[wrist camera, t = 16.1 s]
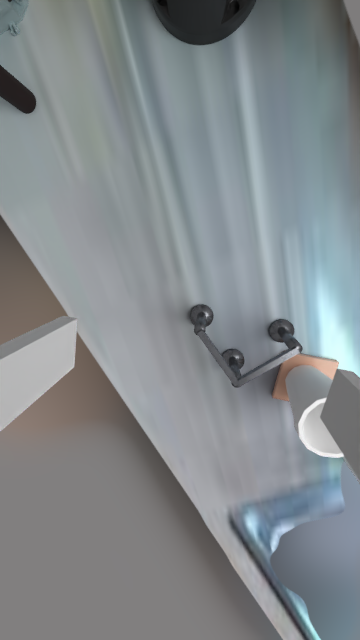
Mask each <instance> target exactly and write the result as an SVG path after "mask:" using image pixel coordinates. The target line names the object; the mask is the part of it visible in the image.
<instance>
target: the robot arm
mask: <svg viewBox="0 0 360 640" xmlns="http://www.w3.org/2000/svg"><path fill="white" fill-rule="evenodd" d="M152 2H153V6H154V8H155V11H156V13H157V15H158V17H159V19H160V21H161V22H162V24H163V25H164V26H165V28H166V29H167V30H168V31H169V32H170V33H171V34H172V35H174V36H175V37H176V38H178V39H180V40H182V41H184V42H187V43H190V44H196V45H205V44H211V43H215V42H217V41H220V40H222V39H224V38H226V37H227V36H229V35H230V34H232V33H233V32H234V31H235V30H236V29H237V28H238V27H239V26H240V25H241V24H242V23H243V22H244V21H245V19H246V18H247V17H248V15H249V13H250V12H251V10H252V8H253V6H254V4H255V2H256V0H152ZM76 331H77V318H72V317H66V316H62V317H59V318H57V319H55V320H53V321H51V322H49V323H47V324H44V325H42V326H40V327H38V328H36V329H34V330H32V331H29V332H27V333H25V334H23V335H21V336H19V337H17V338H14V339H12V340H10V341H8V342H6V343H4V344H2V345H0V431H1V430H3V429H4V428H5V427H6V426H7V425H8V424H9V423H11V422H12V421H13V420H14V419H15V418H16V417H18V416H19V415H20V414H21V413H22V412H23V411H24V410H26V409H27V407H29V406H30V405H31V404H32V403H34V402H35V401H36V400H37V399H38V398H39V397H40V396H42V395H43V394H44V393H45V392H46V391H47V390H48V389H50V388H51V387H52V386H53V385H54V384H55V383H56V382H58V381H59V380H60V379H61V378H62V377H63V376H64V375H66V374H67V373H68V372H69V371H70V370H71V369H72V368H74V363H75V347H76ZM320 418H321V420H322V422H323V423H324V425H325V426H326V428H327V430H328V431H329V433H330V434H331V436H332V437H333V439H334V441H335V442H336V444H337V445H338V447H339V449H340V450H341V452H342V453H343V455H344V457H345V458H346V460H347V461H348V463H349V464H350V466H351V468H352V469H353V471H354V472H355V474H356V476H357V477H358V479H359V480H360V378H359V377H358V376H357V375H356V374H355V373H354V372H351V371H346V370H341V369H337V370H336V373H335V375H334V378H333V381H332V384H331V387H330V390H329V392H328V395H327V398H326V401H325V404H324V407H323V410H322V412H321V415H320Z"/></svg>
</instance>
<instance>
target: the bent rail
mask: <svg viewBox="0 0 360 640" xmlns="http://www.w3.org/2000/svg"><path fill="white" fill-rule="evenodd" d="M190 319H191V321H192V323H193V324H194V325H195V328H194V332H195V334H196V335H198V336H199V337H200V339H201V340H202V341H203V343H204V344H205V345H206V347H207V348H208V350H209V351H210V352H211V354H212V355H213V357H214V358H215V359H216V361H217V362H218V364H219V365H220V366H221V368H222V369H223V370H224V372H225V373H226V375H227V376H228V377H229V379H230V380H231V382H232V385H233V386H234V387H240V386H242V385H244V384H245V383H247V382H249V381H251V380H253V379H254V378H256V377H258V376H260V375H261V374H263V373H265V372H267V371H269V370H270V369H272V368H274V367H276V366H277V365H279V364H281V363H283V362H284V361H286V360H288V359H290V358H292V357H293V356H295V355H297V354H299V353H300V352H301V351H302V346H301V344H300V343H299V342H298V341H297V340H296V339H295V338H294V337H293V334H294V327H293V325H292V324H291V323H290V322H289V321H287V320H284V319H279V320H276V321H275V322H273V323H272V325H271V326H270V329H269V333H270V336H271V337H272V338H273V340H275V341H277V342H285V344H286V345H287V346H288V348H289V349H288V350H286V351H284V352H283V353H281V354H279V355H277V356H276V357H274V358H272V359H270V360H269V361H267V362H265V363H263V364H262V365H260V366H258V367H256V368H255V369H253V370H251V371H249V372H248V373H246V374H244V375H242V376H241V374H240V368H241V367H242V366H243V364H244V357H243V354H242V353H241V352H240V351H238V350H236V349H229V350H227V351H225V352H224V353H223V355H221V354H220V353H219V351H218V350H217V348H216V347H215V346H214V344H213V343H212V341H211V340H210V338H209V337H208V336H207V334H206V333H205V327H206V326H208V325H210V324H211V322H212V320H213V312H212V310H211V309H210V308H209V307H208V306H206V305H197V306H195V307H194V308H193V309H192V311H191V314H190Z"/></svg>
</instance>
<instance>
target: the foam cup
mask: <svg viewBox="0 0 360 640" xmlns="http://www.w3.org/2000/svg"><path fill="white" fill-rule="evenodd" d="M332 381H333V380H332V379H331V378H329V377H328V376H326V375H325V374H324V373H322V372H321V371H320V370H318V369H316V368H315V367H313V366H311V365H300V366H297V367H294V368H293V369H292V370H291V371H290V372H288V374H287V377H286V379H285V382H286V389H287V393H288V397H289V401H290V405H291V409H292V413H293V417H294V427H295V429H296V431H297V433H298V435H299V438H300V439H301V440H302V442H303V443H304V445H305V446H306V447H307V449H309V450H311V451H312V452H314V453H316V454H318V455H320V456H324V457H333V458H339V457H343V456H344V455H343V453H342V452H341V450H340V449H339V447H338V445H337V444H336V442H335V441H334V439H333V437H332V436H331V434H330V433H329V431H328V430H327V428H326V426H325V425H324V423H323V422H322V420H321V418H320V415H321V412H322V410H323V407H324V404H325V401H326V398H327V395H328V392H329V390H330V387H331V384H332Z"/></svg>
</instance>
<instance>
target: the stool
mask: <svg viewBox="0 0 360 640" xmlns="http://www.w3.org/2000/svg"><path fill="white" fill-rule="evenodd" d="M27 7H28V0H0V34H2V33H3V32H5V31H7V30H8V29H11V31H10V32H11V34H12V35H13V36H16V33H15V31H16V32H17V33H18V34H19V33H20V30H19V29H18V28H17V26H16V24H17V23H19V22H20V21H22V20H23V17H24V15H25V12H26V9H27ZM14 29H15V31H14ZM0 96H1V97H2V98H4V99H5V100H6V101H8V102H9V103H11V104H12V105H13V106H15V107H16V108H18V109H19V110H21V111H22V112H24V113H26V114H27V113H31V112H32V111H33V110H34V109H35V106H36V99H35V96H34V95H33V93H32V92H31V91H30V90H29V89H27V88H26V87H25V86H24V85H23V84H22V83H20V82H19V81H18V80H17V79H16V78H15V77H14V76H12V75H11V74H10V73H9V72H8V71H7V70H5V69H4V68H3V67H2V66H1V65H0Z"/></svg>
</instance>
